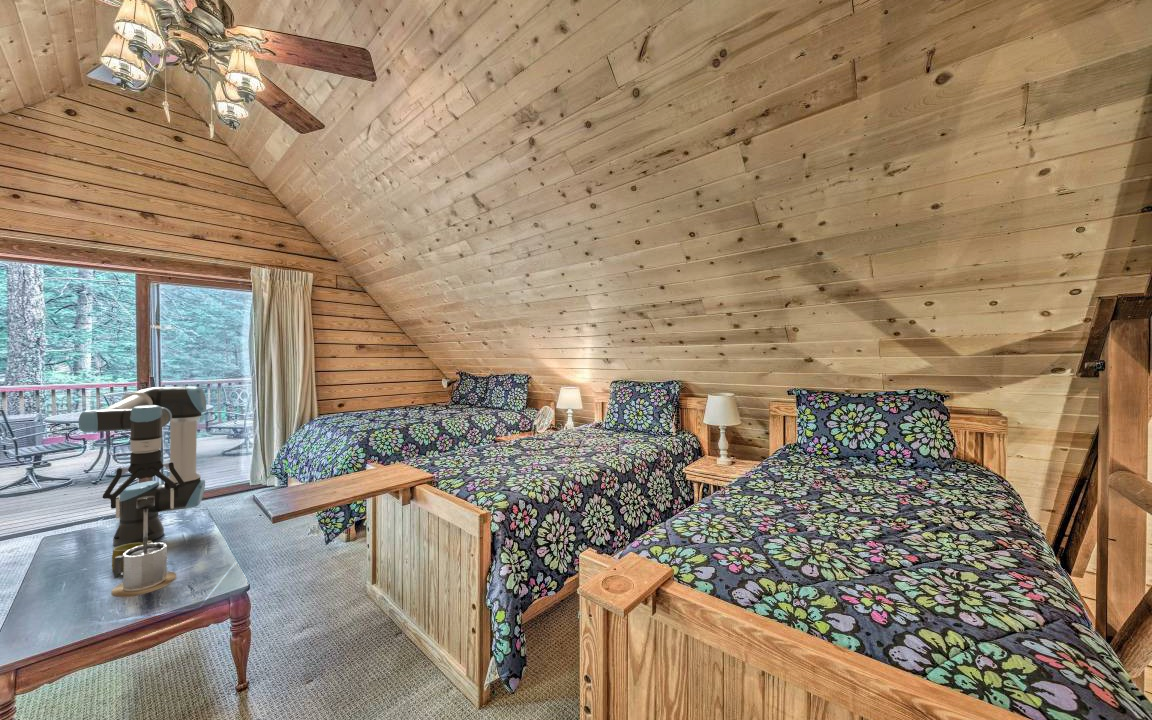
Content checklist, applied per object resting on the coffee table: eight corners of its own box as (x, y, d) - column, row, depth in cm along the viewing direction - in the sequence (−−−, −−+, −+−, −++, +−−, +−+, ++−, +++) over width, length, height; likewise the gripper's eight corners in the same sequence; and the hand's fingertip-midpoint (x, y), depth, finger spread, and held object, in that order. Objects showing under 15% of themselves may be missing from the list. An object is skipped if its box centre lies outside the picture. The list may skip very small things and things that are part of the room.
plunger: (137, 551, 149) (138, 495, 149) (164, 548, 152) (164, 493, 151) (125, 561, 142) (125, 502, 142) (153, 557, 145) (153, 500, 144)
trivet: (129, 577, 152) (129, 575, 152) (185, 570, 158) (185, 568, 158) (98, 602, 137) (98, 600, 137) (162, 593, 143) (162, 592, 143)
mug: (123, 572, 151) (124, 543, 154) (102, 577, 153) (103, 548, 156) (163, 563, 163) (163, 536, 165) (143, 567, 165) (144, 541, 167)
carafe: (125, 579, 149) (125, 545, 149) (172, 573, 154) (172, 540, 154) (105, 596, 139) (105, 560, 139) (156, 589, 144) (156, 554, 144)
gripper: (91, 458, 135) (90, 525, 135) (195, 447, 152) (194, 506, 153) (92, 454, 140) (92, 518, 140) (193, 443, 158) (192, 500, 158)
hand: (145, 512), depth 147 cm, fingers open, 12 cm apart
